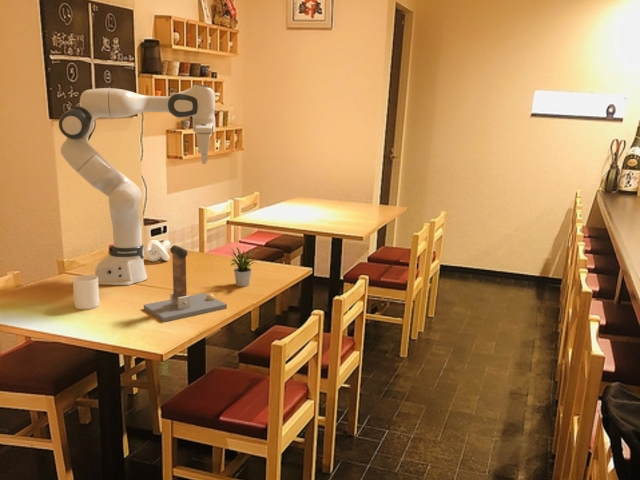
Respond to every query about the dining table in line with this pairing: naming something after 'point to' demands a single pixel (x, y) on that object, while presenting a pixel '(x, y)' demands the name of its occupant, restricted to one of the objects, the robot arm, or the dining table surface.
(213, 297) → the press base
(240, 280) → the house plant
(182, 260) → the lever
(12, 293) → the dining table surface
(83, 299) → the mug
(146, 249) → the white knot sculpture
